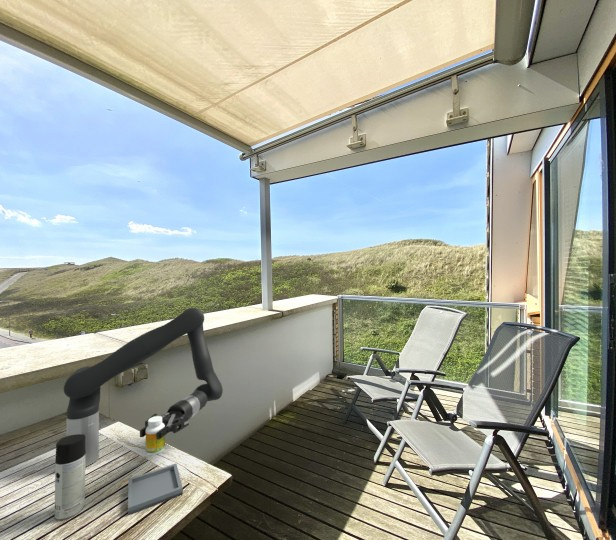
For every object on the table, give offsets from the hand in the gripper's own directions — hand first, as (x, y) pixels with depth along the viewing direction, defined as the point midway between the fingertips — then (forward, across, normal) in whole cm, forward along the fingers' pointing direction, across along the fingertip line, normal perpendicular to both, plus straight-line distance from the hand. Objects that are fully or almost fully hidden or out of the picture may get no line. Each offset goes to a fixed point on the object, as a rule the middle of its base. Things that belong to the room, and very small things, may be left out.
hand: (149, 435), depth 88 cm
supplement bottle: (-3, 0, +6) cm, 7 cm away
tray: (-2, 0, +18) cm, 18 cm away
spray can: (+10, -18, +18) cm, 27 cm away
